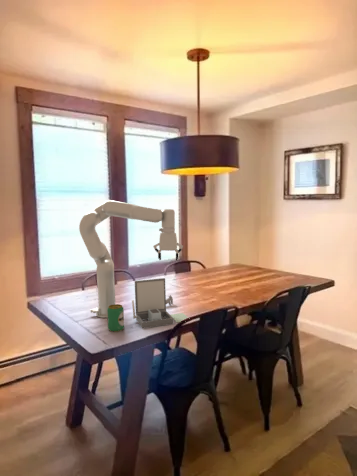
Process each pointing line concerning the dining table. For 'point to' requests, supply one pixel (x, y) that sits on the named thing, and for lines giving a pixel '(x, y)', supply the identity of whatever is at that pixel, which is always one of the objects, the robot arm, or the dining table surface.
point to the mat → (179, 317)
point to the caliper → (169, 300)
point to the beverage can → (115, 317)
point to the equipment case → (151, 302)
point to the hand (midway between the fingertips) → (168, 259)
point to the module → (154, 314)
